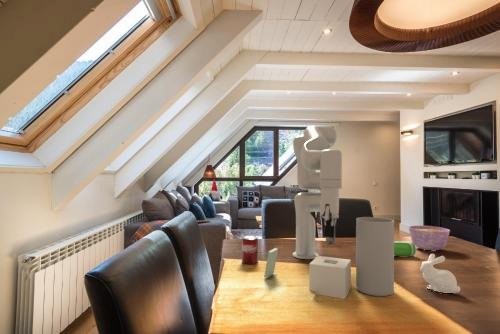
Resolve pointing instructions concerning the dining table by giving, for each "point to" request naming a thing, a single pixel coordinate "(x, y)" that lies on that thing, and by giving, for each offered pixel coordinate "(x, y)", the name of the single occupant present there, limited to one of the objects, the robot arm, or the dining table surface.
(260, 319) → the dining table surface
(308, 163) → the robot arm
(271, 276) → the hinge foot
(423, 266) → the rabbit
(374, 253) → the cylinder vase
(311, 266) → the hitch block
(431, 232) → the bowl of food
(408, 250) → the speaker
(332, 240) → the silver knob
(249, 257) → the soda can
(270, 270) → the plate
